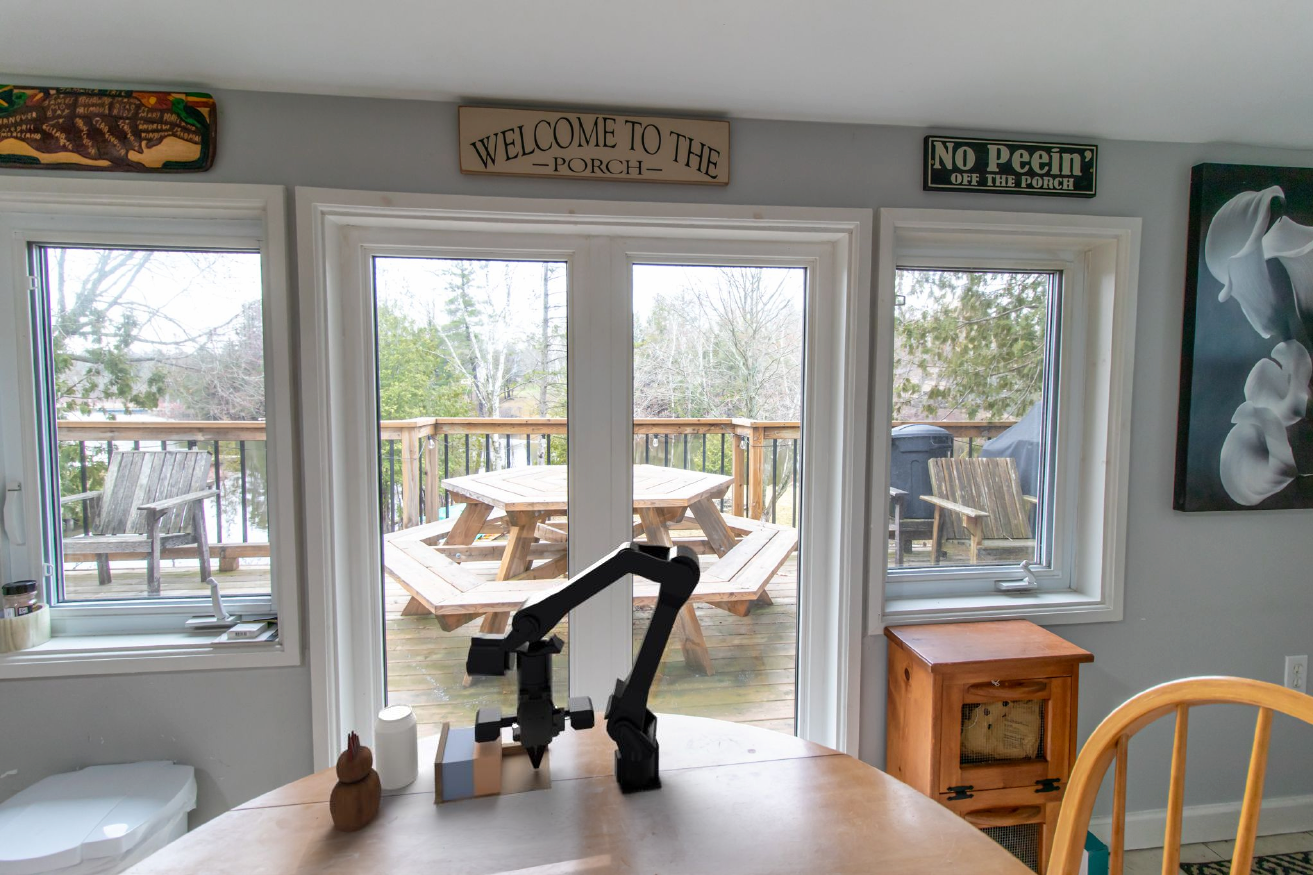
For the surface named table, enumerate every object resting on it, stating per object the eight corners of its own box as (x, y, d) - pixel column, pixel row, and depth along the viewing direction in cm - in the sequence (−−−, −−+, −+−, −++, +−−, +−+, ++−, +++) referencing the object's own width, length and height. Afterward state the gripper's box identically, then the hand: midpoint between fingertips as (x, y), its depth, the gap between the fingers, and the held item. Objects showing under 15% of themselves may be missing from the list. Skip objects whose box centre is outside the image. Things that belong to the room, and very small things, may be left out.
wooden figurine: (358, 844, 84) (354, 742, 83) (323, 838, 85) (318, 737, 84) (389, 810, 91) (386, 715, 89) (355, 805, 92) (352, 711, 90)
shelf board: (548, 751, 105) (547, 710, 105) (551, 793, 95) (551, 748, 94) (442, 765, 101) (441, 722, 101) (433, 810, 91) (432, 763, 90)
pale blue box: (477, 760, 101) (476, 726, 101) (473, 796, 92) (472, 759, 92) (449, 764, 100) (448, 729, 100) (442, 800, 91) (441, 763, 91)
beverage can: (422, 768, 100) (420, 699, 99) (412, 793, 94) (410, 720, 93) (383, 771, 100) (381, 702, 98) (371, 797, 93) (368, 723, 92)
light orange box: (502, 756, 102) (501, 723, 102) (500, 791, 93) (499, 755, 93) (477, 759, 101) (476, 726, 101) (473, 795, 92) (472, 758, 92)
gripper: (470, 709, 87) (473, 810, 89) (598, 694, 92) (599, 791, 93) (475, 673, 98) (478, 763, 100) (590, 661, 102) (590, 748, 104)
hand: (536, 767), depth 99 cm, fingers closed
